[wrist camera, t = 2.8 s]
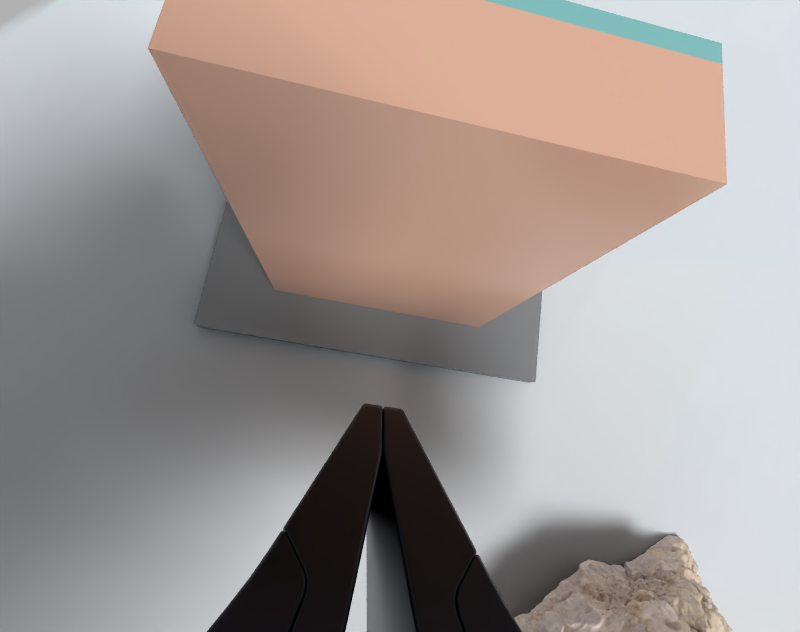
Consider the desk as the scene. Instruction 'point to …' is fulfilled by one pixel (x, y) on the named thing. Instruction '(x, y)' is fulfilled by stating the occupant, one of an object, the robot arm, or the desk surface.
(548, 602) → the rock
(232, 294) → the mat
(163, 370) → the desk surface
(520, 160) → the tile
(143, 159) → the desk surface
